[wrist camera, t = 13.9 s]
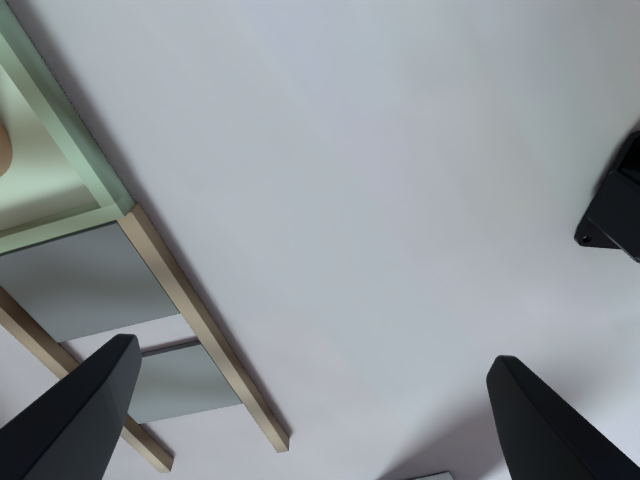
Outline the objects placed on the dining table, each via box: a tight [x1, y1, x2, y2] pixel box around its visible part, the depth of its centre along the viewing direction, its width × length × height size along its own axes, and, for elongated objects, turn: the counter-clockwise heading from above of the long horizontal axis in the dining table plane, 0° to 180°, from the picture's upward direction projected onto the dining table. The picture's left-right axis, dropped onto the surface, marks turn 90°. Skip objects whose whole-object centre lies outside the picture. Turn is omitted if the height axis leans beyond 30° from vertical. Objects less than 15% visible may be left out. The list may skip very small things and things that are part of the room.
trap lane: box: [0, 0, 289, 473], centre depth 25 cm, size 36×12×1 cm, turn 17°
